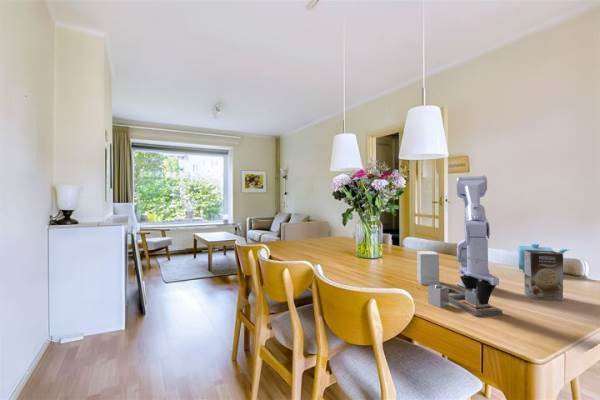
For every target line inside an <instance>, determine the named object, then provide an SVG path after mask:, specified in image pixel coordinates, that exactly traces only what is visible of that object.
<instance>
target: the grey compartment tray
mask: <svg viewBox="0 0 600 400" xmlns="http://www.w3.org/2000/svg"><path fill="white" fill-rule="evenodd" d="M449 293H452V294H449V304H452V305H454V306H455V307H457V308H459V309H460V310H463V311H465V312H466V313H469V314H471V315H472V316H474V317H485V316H495V315H497V316H498V315H503V309H501V308H499V307H497V306H494V305H492V304H489V308H485V309H475V308H473V307H471V306H469V305H467V304H465V292H463V291H460V290H458V289H456V288H454V287H452V286H451V287H449ZM460 299H462V300H463V299H464V300H463V301H459V300H460Z"/></svg>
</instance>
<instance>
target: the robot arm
mask: <svg viewBox="0 0 600 400" xmlns="http://www.w3.org/2000/svg"><path fill="white" fill-rule="evenodd" d="M455 184H456V186H455V187H456V195H457V197H458V198H460V199H462V201H463V205H464V207H463V208H464V212H463V213H464V238H463V239H462V240H460V241H458V242H457V244H456V247H457V248H456V260H457V262H458V263H460V266H458V273H459V274H460V282H456V283H455V285H457V286H460V287H462V288H464V289H469V288H478V291H479V299H480V304H482V305H485V304H488V303H489V300H490V298H491V294H492V292H493V291H494V289H495V288H496V286H499V285H500V278H499V277H497V276H494V275H492V274H491V273H490V270H489V248H488V247H489V246H488V245H489V243H488V242H489V241H488V240H489V239H490V235H491V230H490V229H491V228H490V223H489V221H488V218H487V216H486V210H485V206H484V205H482V204H481V198H483V197H484V196H485V195H486V193H487V190H488V179H487V176H486V175H478V176H477V175H475V176H473V175H472V176H457V177H456V183H455Z"/></svg>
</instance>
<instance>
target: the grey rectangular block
mask: <svg viewBox="0 0 600 400" xmlns="http://www.w3.org/2000/svg"><path fill="white" fill-rule="evenodd" d="M464 293H465V299H464V301H465V304H467V305H469V306H471V307H473V308H475V309H485V308H489V303H490V302H488V304H485V305H482V304H480V299H479V291H478V288H469V289H466V288H464Z"/></svg>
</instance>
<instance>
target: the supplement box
mask: <svg viewBox="0 0 600 400" xmlns="http://www.w3.org/2000/svg"><path fill="white" fill-rule="evenodd" d="M416 270H417V271H416V273H417V275H416V276H417V277H416V278H417V281H418V282H419V284H420V285H424V286H430V285H434V284H440V254H439V253H437V252H436V251H433V250H432V251H430V250H429V251H427V250H425V251H423V250H420V251H419V250H417V251H416Z"/></svg>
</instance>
